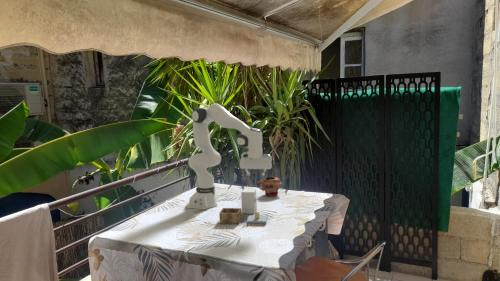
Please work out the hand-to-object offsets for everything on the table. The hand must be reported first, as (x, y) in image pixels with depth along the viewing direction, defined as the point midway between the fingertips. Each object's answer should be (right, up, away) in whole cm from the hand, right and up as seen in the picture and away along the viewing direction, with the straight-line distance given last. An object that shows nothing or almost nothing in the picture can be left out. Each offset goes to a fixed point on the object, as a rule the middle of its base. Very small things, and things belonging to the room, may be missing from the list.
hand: (255, 175), depth 222 cm
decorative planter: (+12, -21, +55) cm, 60 cm away
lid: (+1, -28, -2) cm, 28 cm away
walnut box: (-16, -29, +1) cm, 33 cm away
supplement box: (-4, -27, +18) cm, 32 cm away
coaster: (+1, -29, -2) cm, 29 cm away
